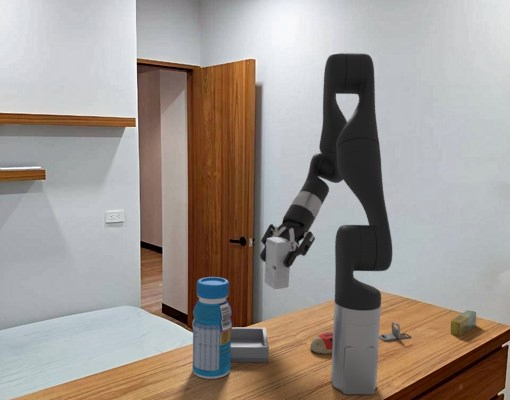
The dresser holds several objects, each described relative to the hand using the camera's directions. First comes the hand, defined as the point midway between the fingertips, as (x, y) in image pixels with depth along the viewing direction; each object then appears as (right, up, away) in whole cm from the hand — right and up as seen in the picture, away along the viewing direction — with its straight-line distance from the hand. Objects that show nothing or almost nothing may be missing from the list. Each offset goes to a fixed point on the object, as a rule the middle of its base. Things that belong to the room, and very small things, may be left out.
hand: (274, 262), depth 124 cm
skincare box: (+1, -6, +2) cm, 7 cm away
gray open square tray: (-8, -20, -8) cm, 23 cm away
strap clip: (+32, -20, +3) cm, 38 cm away
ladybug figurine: (+13, -21, -5) cm, 25 cm away
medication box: (+52, -20, +10) cm, 57 cm away
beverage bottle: (-14, -21, -18) cm, 31 cm away
